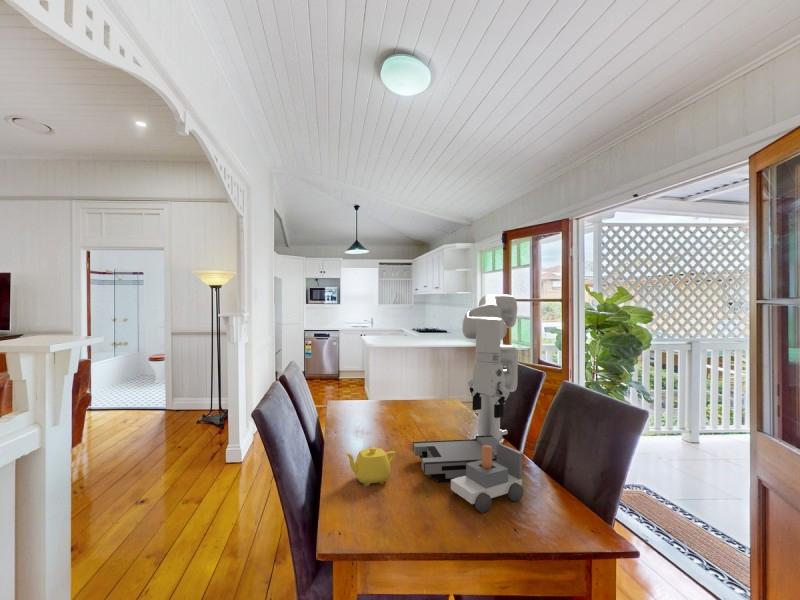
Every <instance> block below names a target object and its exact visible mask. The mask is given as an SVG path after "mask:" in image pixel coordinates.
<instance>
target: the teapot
mask: <svg viewBox="0 0 800 600" xmlns="http://www.w3.org/2000/svg"><path fill="white" fill-rule="evenodd" d="M344 455H345V456H347V457H348V460H349V467H350V470H352V472H353V473H355V476H356V478H357V480H358V481H359V482H360V483H361V484H363V486H364V485H365V486H364V487H369V486H370V485H371V484H376V483H379V484H380V485H384V484H385V483H386V481H387V480H389V478H390V476H391V474H392V473H391V469H392V468H391V465H392V464H393V462H394V460H395V459H396V457H397V452H396V451H394V450H390V451H384V449H382V448H378V447H375V446H372V447H369V448H366V449H365V448H364V449H361V450H359V452H358V454H357V456H356V459H355V460H354V456H353V455H352V453H349V452H344ZM389 455H391V456H390V458H389V457H388V456H389Z"/></svg>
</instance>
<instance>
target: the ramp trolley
mask: <svg viewBox="0 0 800 600" xmlns="http://www.w3.org/2000/svg"><path fill="white" fill-rule="evenodd" d="M449 487H450V491H451V492H452V493H454V494H455V495H457V496H460V497H461V498H462V499H464V500H465V501H467V502H468V503H469V504H471V505H474V504H475V505H474V506H475V509H476V510H477V511H478V512H480V513H481V514H484V513H487V512H488V511H490V509H491V507H492V502H493V501H492V499H493V498H496V497H500V496H503V495H506V494H508V498H509V499H510V500H512V501H513V502H515V503H518V502H520V501H521V500H522V498H523V496H524V494H525V493H524V487H523V452H522V451H519V450H517V449H514V448H512V447H510V446H508V445H505V444H503V443H502V444H501V443H497V456H496V462H494V461H492V469H488V470H486V469H484V468H482V460H479V461H475V462H471V463H467V464H466V476H462V477H455V478H454V479H451V482H450V486H449Z"/></svg>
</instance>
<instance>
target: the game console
mask: <svg viewBox="0 0 800 600" xmlns="http://www.w3.org/2000/svg"><path fill="white" fill-rule="evenodd" d="M474 436H475V435H474ZM497 443H500V442H499V441H498V440H497V439H495V438H494V437H493V436H492V435H490V436H475V439H474V438H472V439H471V438H469V439H449V440H447V439H446V440H429V441H427V440H426V441H412V452H413V454H414V456H415V457H419V459H420V460H421V465H420V466H421V470H422V471H423V473H424V475H429V477H430V478H431V479H436V481H437V480H438V481H437V482H438V483H441V482H442V483H451V479H454V478H455V477H462V476H466V464H467V463H471V462H475V461H479V460H482V446H483V445H490V446H492V461H494V462H496V456H497Z"/></svg>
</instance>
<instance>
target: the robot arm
mask: <svg viewBox="0 0 800 600" xmlns="http://www.w3.org/2000/svg"><path fill="white" fill-rule="evenodd" d="M517 315H518V303H517V300H516V297H514V296H513V295H510V294H487V295H484V296H483V297H481V298H480V299H479V303H478V306H477V307H474V308H472V309H470V310H468V311H466V313H465V315H464V317H463V320H462V328H461V329H462V335H463V337H465V338H466V339H468V340H473V341H474V340H475V361H474V365H473V374H472V379H471V380H469V381H468V383H467V384H468V388H469V392H470V393H471V394H470V396H471V398H472V410H473V411H477V434H476V435H474V437H473V439H475V436H490V435H492V436H493V437H494V438H495V439H497V440H498V441H499V442H500V443H501V444H503V443H504V440H505V439H504V437H503V436H504V435H508V433H509V432H508V430H507V429H501V418H503V417H504V405H505V404H506V403H507V401H508V398H509V396H510V394H511V393H513V392H516V390H517V387H518V379H519V378H518V375H519V374H518V373H519V371H518V366H519V364H518V363H519V361H518V360H519V359H518V350H517V348H516V347H515V346H513V345H511V344H501V343H502V340H503V339H504V337H506V335H507V331H508V330H507V329H508V328H510V329H511V328H513V327H514V326H516V322H517ZM504 368H505V369H504Z"/></svg>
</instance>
